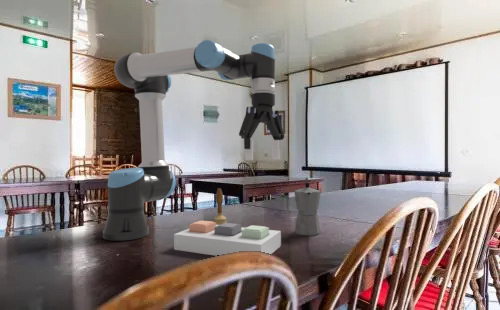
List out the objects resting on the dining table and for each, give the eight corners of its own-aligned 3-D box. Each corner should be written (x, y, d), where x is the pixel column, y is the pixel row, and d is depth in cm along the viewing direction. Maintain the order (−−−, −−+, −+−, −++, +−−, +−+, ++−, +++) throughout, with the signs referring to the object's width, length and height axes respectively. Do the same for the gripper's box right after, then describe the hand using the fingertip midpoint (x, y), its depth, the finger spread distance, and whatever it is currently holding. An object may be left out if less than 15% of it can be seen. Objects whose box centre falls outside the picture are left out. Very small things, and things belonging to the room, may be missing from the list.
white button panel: (174, 249, 94) (173, 234, 94) (203, 236, 109) (203, 223, 109) (261, 262, 83) (261, 244, 83) (280, 246, 97) (280, 231, 97)
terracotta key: (189, 234, 98) (189, 223, 98) (200, 230, 103) (200, 219, 103) (205, 236, 96) (205, 225, 96) (216, 231, 101) (216, 221, 101)
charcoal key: (214, 237, 94) (214, 226, 94) (224, 232, 100) (224, 222, 100) (232, 239, 92) (232, 227, 92) (241, 234, 97) (241, 223, 97)
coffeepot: (323, 237, 107) (323, 184, 107) (295, 236, 108) (294, 184, 108) (318, 227, 122) (317, 180, 122) (293, 226, 123) (293, 180, 123)
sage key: (241, 240, 91) (241, 228, 91) (250, 235, 96) (250, 224, 96) (261, 242, 88) (261, 230, 88) (268, 237, 94) (268, 226, 94)
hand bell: (228, 235, 110) (227, 189, 110) (205, 234, 112) (205, 189, 112) (233, 230, 119) (233, 187, 119) (212, 229, 120) (212, 187, 120)
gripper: (245, 85, 90) (245, 160, 90) (294, 97, 109) (294, 159, 109) (227, 89, 95) (227, 160, 95) (276, 99, 114) (276, 159, 114)
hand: (263, 159), depth 102 cm, fingers open, 13 cm apart
